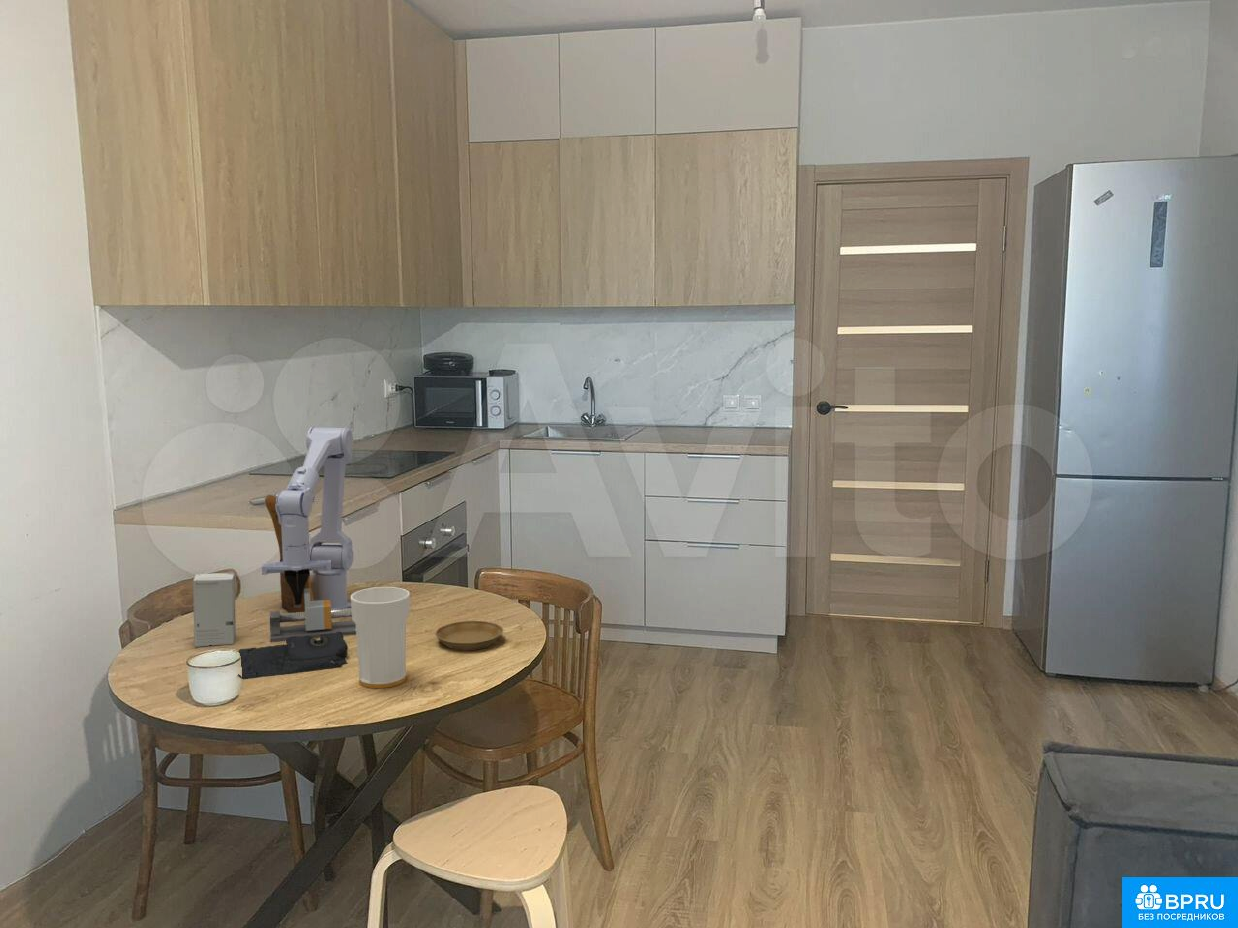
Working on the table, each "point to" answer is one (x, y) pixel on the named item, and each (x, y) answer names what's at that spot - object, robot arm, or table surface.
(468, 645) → the plant saucer
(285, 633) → the board
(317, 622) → the sleeve
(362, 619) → the cup
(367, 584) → the table surface
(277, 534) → the pancake mix bag
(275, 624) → the pipe
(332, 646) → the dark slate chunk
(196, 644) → the skincare box
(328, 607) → the orange wooden block
